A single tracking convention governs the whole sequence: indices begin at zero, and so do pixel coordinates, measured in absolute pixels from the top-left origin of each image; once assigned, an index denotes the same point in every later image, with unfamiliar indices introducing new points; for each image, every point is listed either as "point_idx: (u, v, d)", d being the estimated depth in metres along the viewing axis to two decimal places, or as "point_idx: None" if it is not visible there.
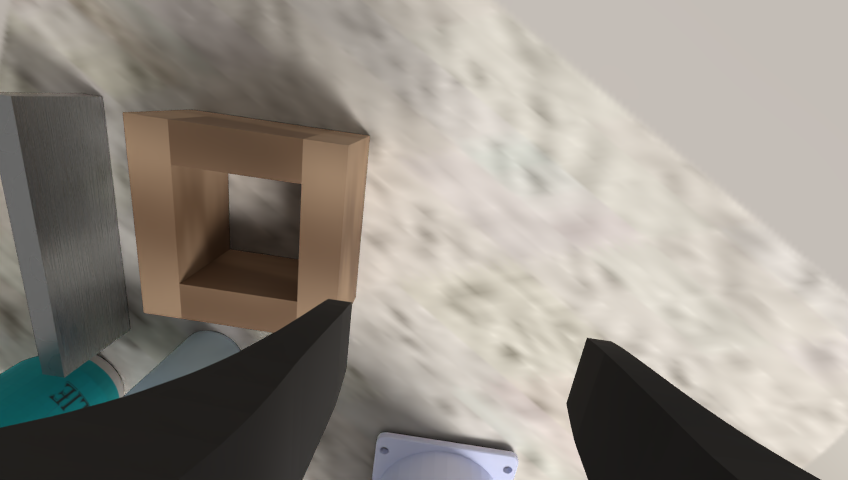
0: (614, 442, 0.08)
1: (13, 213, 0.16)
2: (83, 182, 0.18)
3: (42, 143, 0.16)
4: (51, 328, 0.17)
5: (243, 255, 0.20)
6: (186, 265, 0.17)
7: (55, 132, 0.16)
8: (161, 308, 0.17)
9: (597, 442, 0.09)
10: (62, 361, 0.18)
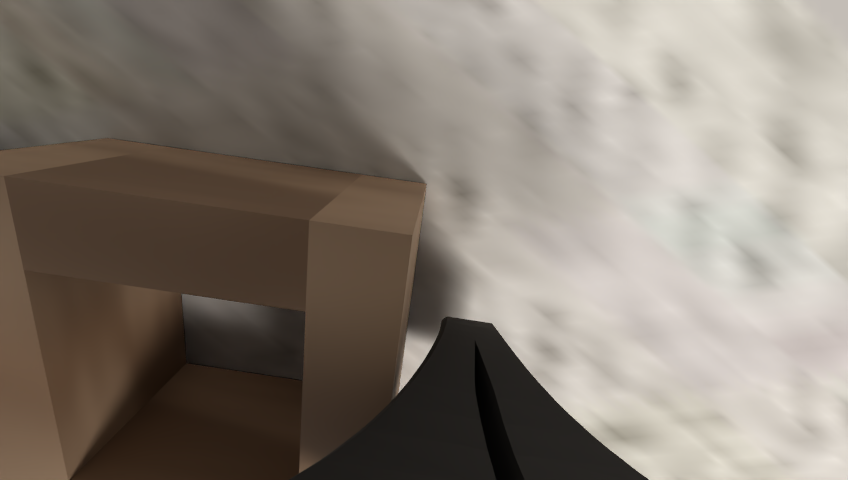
0: None
1: None
2: None
3: None
4: None
5: (207, 378, 0.12)
6: (86, 439, 0.09)
7: None
8: None
9: None
10: None
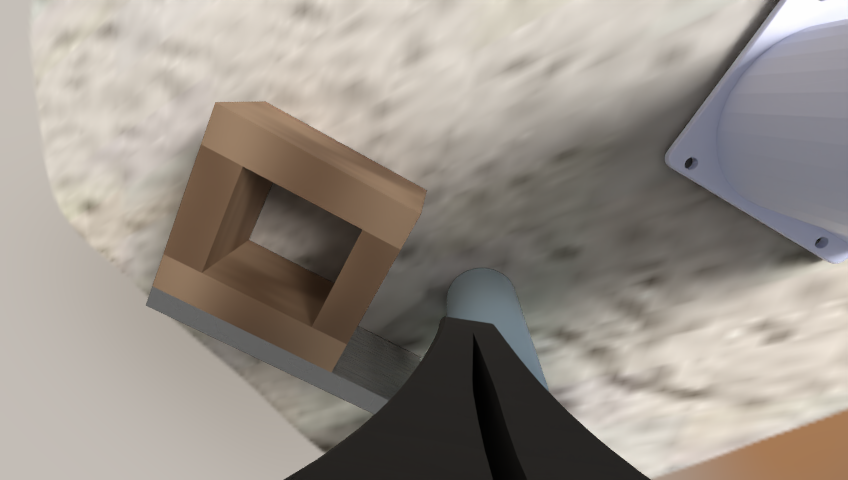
0: None
1: (246, 349, 0.17)
2: None
3: None
4: (361, 389, 0.18)
5: None
6: (303, 314, 0.17)
7: None
8: (331, 355, 0.17)
9: None
10: None
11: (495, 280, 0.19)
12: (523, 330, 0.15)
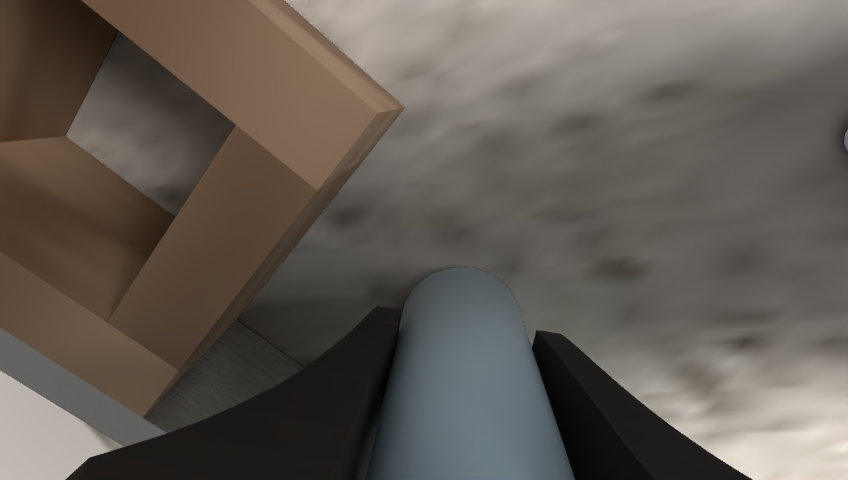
0: None
1: None
2: None
3: None
4: None
5: None
6: (102, 291, 0.08)
7: None
8: (145, 386, 0.08)
9: None
10: None
11: (496, 294, 0.10)
12: (551, 417, 0.07)
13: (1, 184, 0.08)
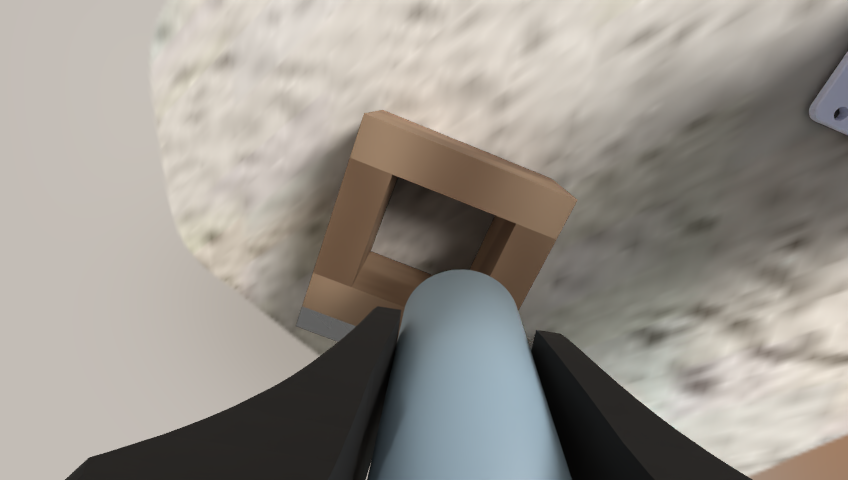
0: None
1: None
2: None
3: None
4: None
5: None
6: None
7: None
8: None
9: None
10: None
11: (494, 296, 0.10)
12: (547, 417, 0.07)
13: (383, 283, 0.17)
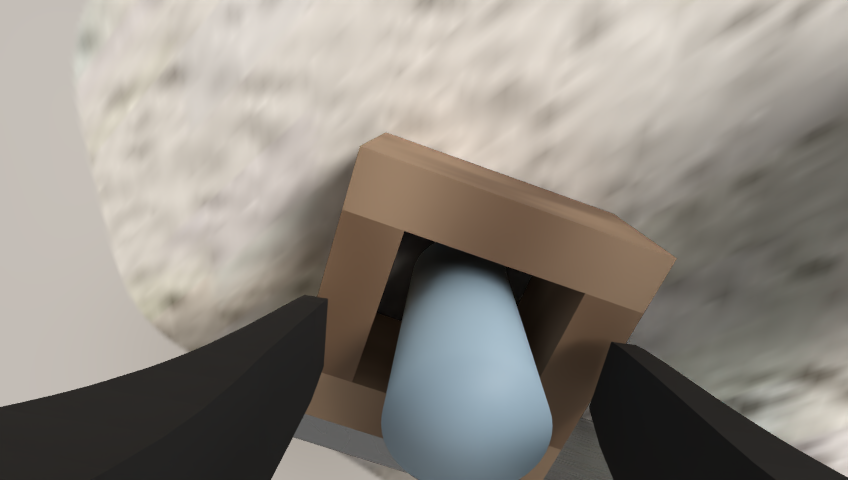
0: (644, 447, 0.08)
1: None
2: None
3: None
4: None
5: None
6: None
7: None
8: (538, 466, 0.12)
9: (625, 446, 0.09)
10: None
11: None
12: (520, 328, 0.10)
13: None
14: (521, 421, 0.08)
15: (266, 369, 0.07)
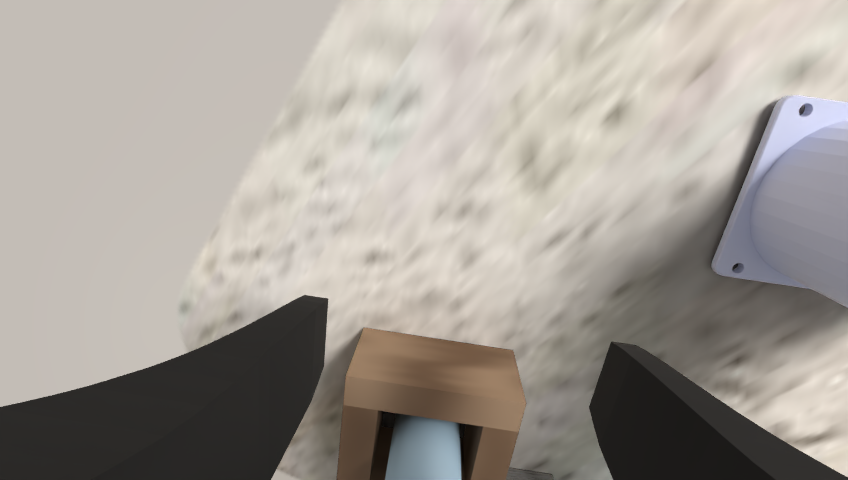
0: (644, 447, 0.08)
1: None
2: None
3: None
4: None
5: (465, 433, 0.23)
6: None
7: None
8: None
9: (625, 446, 0.09)
10: None
11: None
12: (449, 454, 0.18)
13: None
14: None
15: (266, 369, 0.07)
